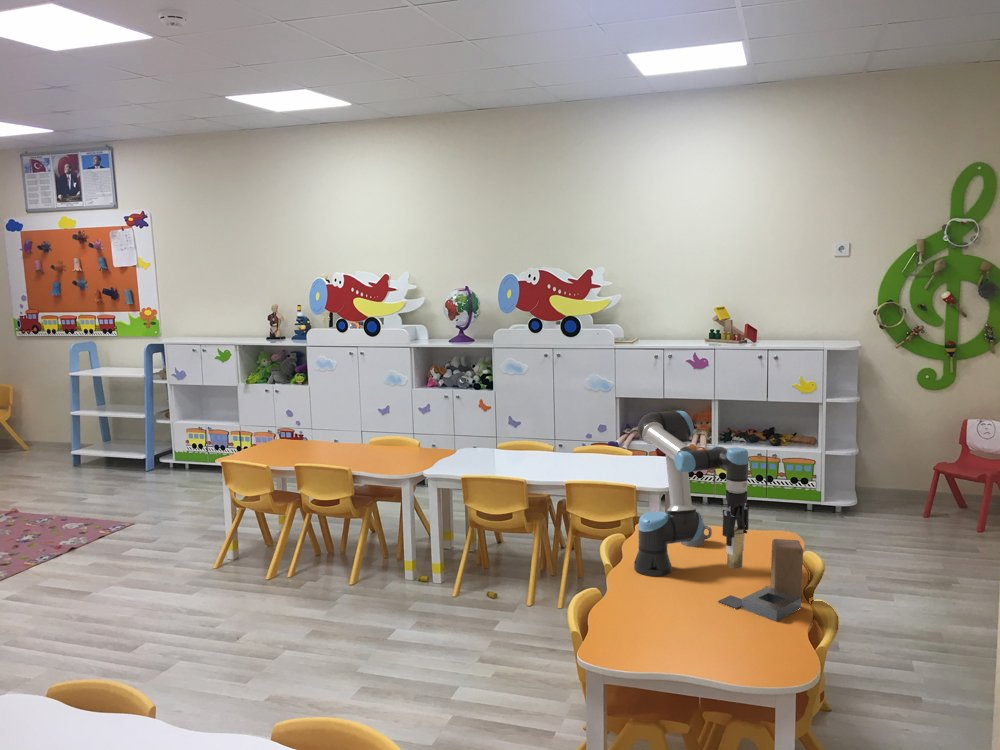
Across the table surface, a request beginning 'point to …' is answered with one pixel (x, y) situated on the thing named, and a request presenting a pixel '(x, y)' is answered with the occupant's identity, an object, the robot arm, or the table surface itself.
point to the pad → (732, 601)
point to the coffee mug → (700, 540)
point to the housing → (771, 603)
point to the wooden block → (787, 566)
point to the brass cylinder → (736, 550)
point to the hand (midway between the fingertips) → (735, 551)
